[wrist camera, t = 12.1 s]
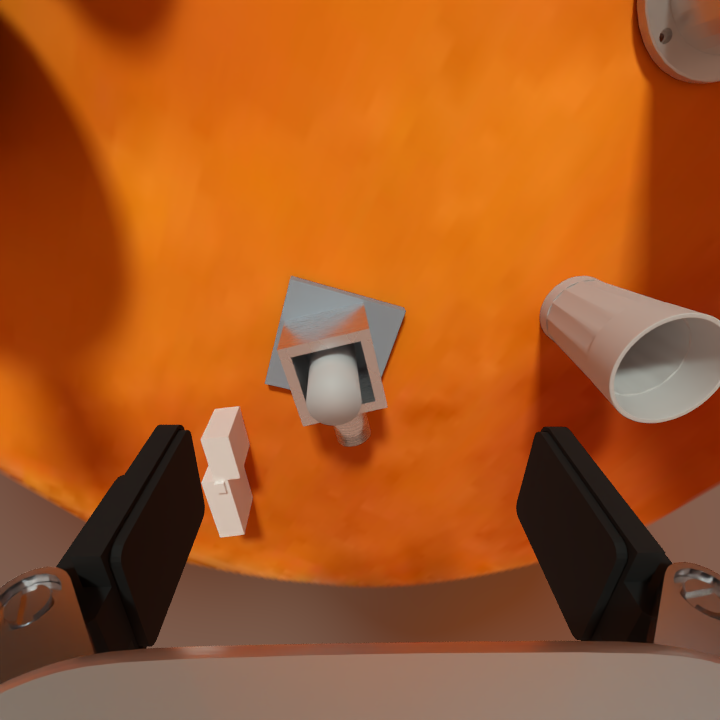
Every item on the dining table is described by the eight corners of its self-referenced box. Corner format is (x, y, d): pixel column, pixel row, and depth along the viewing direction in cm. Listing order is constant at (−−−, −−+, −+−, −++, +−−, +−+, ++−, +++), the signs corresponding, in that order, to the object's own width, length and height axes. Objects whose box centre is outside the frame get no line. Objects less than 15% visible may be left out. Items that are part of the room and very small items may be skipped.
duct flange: (403, 307, 37) (427, 356, 28) (369, 402, 41) (380, 472, 32) (291, 275, 35) (277, 317, 26) (266, 378, 39) (247, 445, 30)
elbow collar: (284, 320, 36) (276, 350, 30) (363, 302, 35) (369, 328, 30) (317, 420, 40) (315, 461, 35) (387, 404, 40) (396, 443, 34)
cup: (614, 341, 40) (721, 411, 29) (530, 358, 40) (605, 433, 29) (622, 258, 36) (746, 301, 25) (530, 276, 36) (614, 327, 26)
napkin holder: (257, 517, 47) (248, 561, 42) (158, 478, 44) (135, 520, 39) (326, 419, 42) (325, 456, 37) (219, 367, 39) (202, 399, 34)
